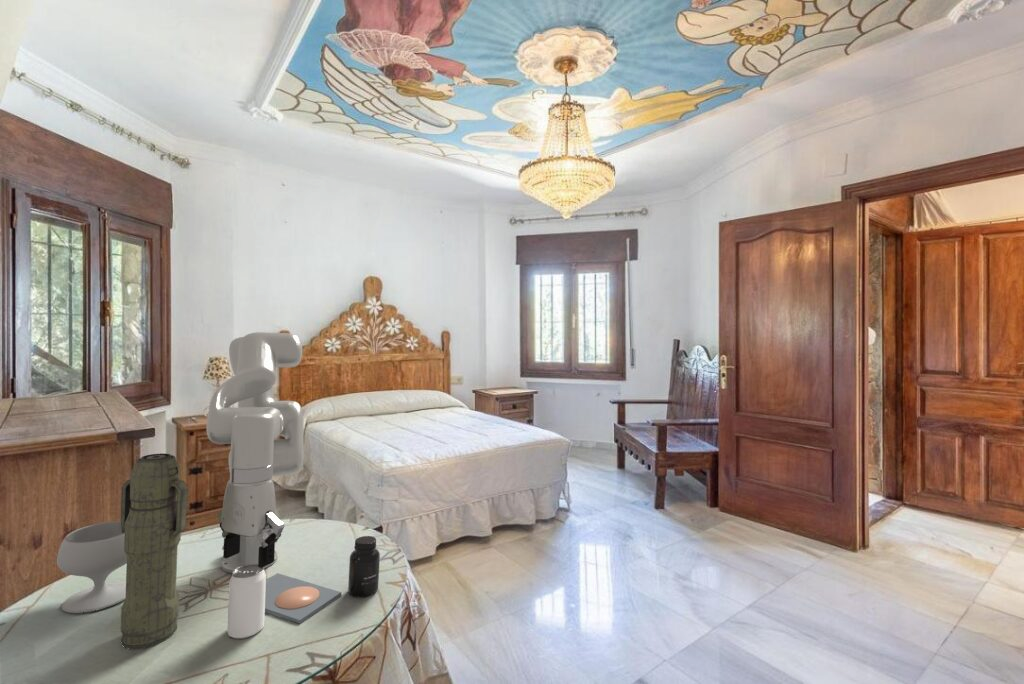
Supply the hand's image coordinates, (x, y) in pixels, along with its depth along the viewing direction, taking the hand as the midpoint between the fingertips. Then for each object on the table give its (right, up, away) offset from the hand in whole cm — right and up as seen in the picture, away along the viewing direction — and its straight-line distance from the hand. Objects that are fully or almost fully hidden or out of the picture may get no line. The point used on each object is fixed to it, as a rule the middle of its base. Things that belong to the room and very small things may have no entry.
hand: (248, 560), depth 94 cm
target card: (+2, -14, +12) cm, 19 cm away
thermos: (-18, -14, -2) cm, 23 cm away
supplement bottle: (+18, -15, +17) cm, 29 cm away
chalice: (-38, -13, +9) cm, 42 cm away
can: (-1, -15, +1) cm, 15 cm away
